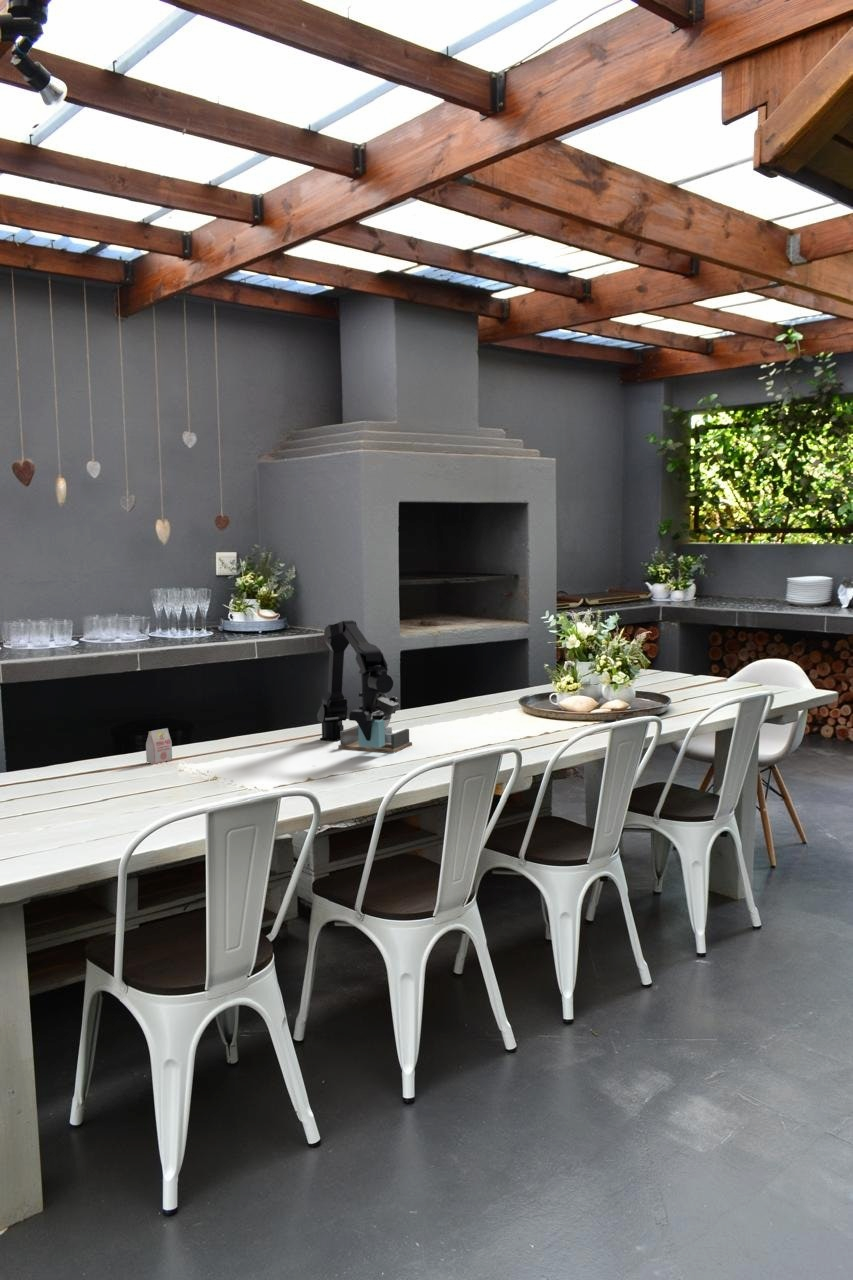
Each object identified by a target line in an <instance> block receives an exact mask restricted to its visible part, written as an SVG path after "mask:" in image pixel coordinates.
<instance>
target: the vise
mask: <svg viewBox="0 0 853 1280" xmlns="http://www.w3.org/2000/svg"><path fill="white" fill-rule="evenodd" d="M339 742H340V744H339V745H338V749H340V750H352V751H362V752H363V751H365V752H366V751H367V752H376V751H379V752H380V753H389V752H395V753H397V751H398V752H399V750H400V751H402V750H405V749H406V747H407V748H409V747H412V746H413V742H412V741H409V743H406V744H404V745H402V746H399V747H397V748H395V749H391V743H385V746H382V747H380V748H373V747H361V746H359V731H358V724H357V725H355V726H351V727H349V728H346V729H344V730H343V731H340V741H339ZM408 746H409V747H408ZM401 749H402V750H401ZM379 752H378V753H379Z"/></svg>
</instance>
